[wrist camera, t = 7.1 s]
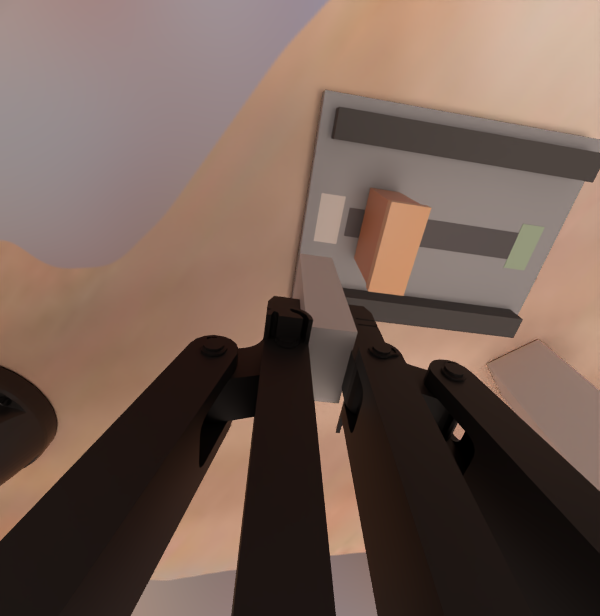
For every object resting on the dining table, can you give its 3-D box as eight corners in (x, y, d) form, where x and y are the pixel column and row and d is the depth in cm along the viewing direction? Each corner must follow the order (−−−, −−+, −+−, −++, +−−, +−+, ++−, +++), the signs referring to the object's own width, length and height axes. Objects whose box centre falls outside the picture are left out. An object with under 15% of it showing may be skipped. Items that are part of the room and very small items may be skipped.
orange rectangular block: (352, 259, 30) (368, 291, 24) (369, 186, 27) (391, 201, 21) (381, 263, 30) (403, 296, 24) (400, 190, 28) (431, 207, 22)
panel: (290, 301, 34) (290, 310, 33) (322, 92, 26) (325, 89, 24) (496, 326, 36) (507, 336, 35) (585, 139, 28) (605, 140, 26)
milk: (552, 374, 40) (809, 612, 20) (501, 397, 41) (695, 641, 21) (537, 337, 37) (814, 568, 18) (484, 363, 39) (685, 603, 19)
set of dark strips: (302, 302, 32) (303, 312, 30) (336, 108, 25) (339, 106, 23) (501, 327, 34) (513, 337, 32) (586, 152, 27) (607, 154, 25)
